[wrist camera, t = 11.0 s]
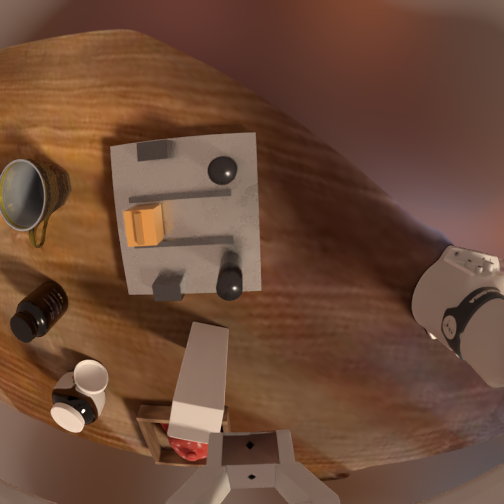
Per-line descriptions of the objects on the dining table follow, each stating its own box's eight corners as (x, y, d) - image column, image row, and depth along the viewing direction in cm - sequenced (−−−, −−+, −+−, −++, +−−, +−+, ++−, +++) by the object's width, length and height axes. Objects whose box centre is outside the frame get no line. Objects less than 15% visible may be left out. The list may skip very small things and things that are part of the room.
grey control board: (254, 134, 42) (259, 125, 30) (260, 282, 48) (265, 321, 37) (118, 146, 41) (80, 146, 30) (134, 286, 48) (107, 323, 36)
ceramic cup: (29, 164, 41) (-9, 170, 31) (74, 148, 41) (39, 149, 31) (44, 238, 45) (10, 256, 35) (89, 228, 45) (58, 246, 35)
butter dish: (206, 407, 56) (203, 438, 48) (230, 439, 60) (229, 468, 51) (158, 417, 57) (150, 447, 49) (185, 447, 61) (181, 476, 52)
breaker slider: (160, 203, 41) (151, 209, 36) (164, 237, 42) (155, 246, 38) (133, 206, 41) (121, 212, 36) (137, 238, 42) (126, 248, 38)
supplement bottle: (52, 318, 49) (20, 352, 38) (34, 286, 47) (-2, 315, 36) (76, 308, 49) (44, 344, 37) (58, 275, 47) (20, 304, 35)
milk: (193, 320, 50) (167, 418, 29) (229, 328, 51) (223, 429, 29) (188, 350, 52) (164, 449, 31) (222, 357, 52) (214, 458, 31)
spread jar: (72, 391, 55) (51, 426, 44) (58, 350, 52) (32, 385, 41) (120, 401, 56) (104, 441, 44) (109, 359, 52) (88, 399, 41)
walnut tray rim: (227, 406, 56) (227, 421, 52) (234, 454, 61) (234, 467, 57) (140, 404, 56) (136, 417, 52) (158, 451, 61) (156, 464, 57)
